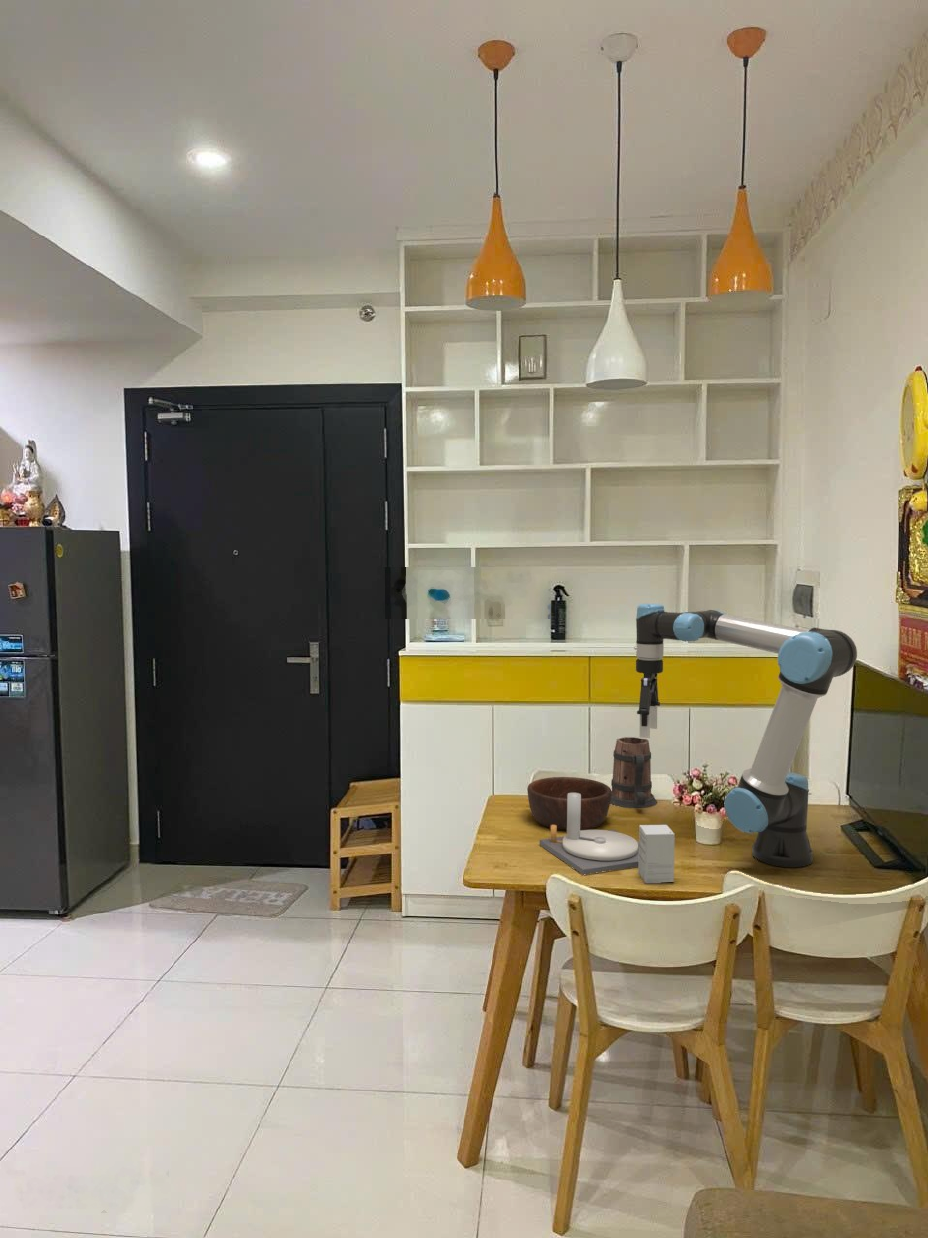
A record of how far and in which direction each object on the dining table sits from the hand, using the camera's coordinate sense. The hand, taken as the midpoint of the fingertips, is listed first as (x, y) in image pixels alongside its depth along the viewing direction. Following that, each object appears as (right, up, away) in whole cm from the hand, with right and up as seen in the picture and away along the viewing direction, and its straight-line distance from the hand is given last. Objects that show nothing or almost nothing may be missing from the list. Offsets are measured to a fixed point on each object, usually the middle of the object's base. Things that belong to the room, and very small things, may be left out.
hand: (648, 732), depth 251 cm
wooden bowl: (-21, -29, +15) cm, 38 cm away
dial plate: (-16, -31, -14) cm, 37 cm away
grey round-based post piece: (-16, -29, -14) cm, 36 cm away
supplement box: (-5, -33, -30) cm, 45 cm away
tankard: (+2, -27, +33) cm, 42 cm away
